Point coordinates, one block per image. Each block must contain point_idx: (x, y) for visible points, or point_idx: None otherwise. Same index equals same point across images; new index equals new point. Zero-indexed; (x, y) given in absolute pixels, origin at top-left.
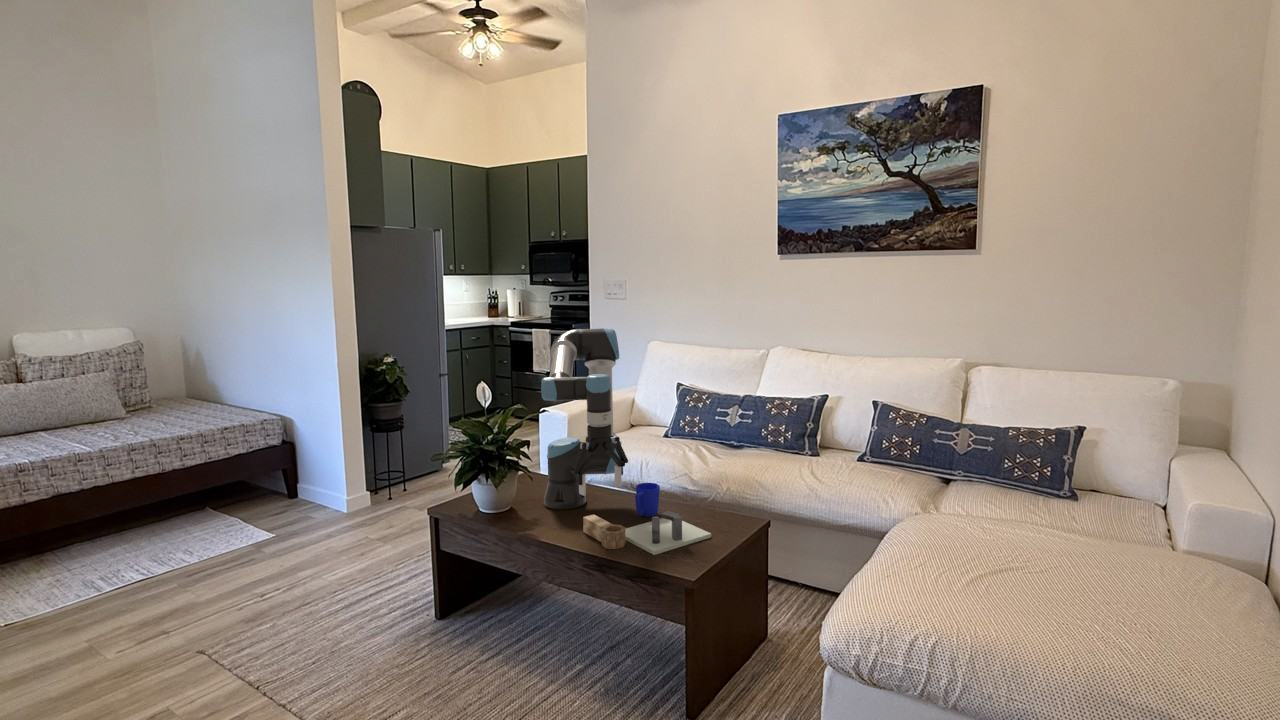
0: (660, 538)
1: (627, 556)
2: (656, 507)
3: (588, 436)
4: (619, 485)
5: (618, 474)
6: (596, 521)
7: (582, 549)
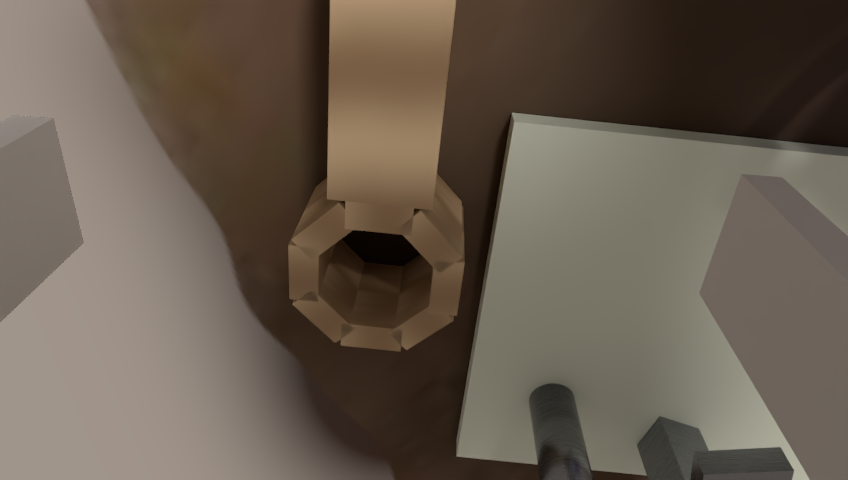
0: (614, 383)
1: (344, 376)
2: None
3: None
4: (706, 304)
5: (800, 420)
6: (366, 70)
7: (180, 150)
